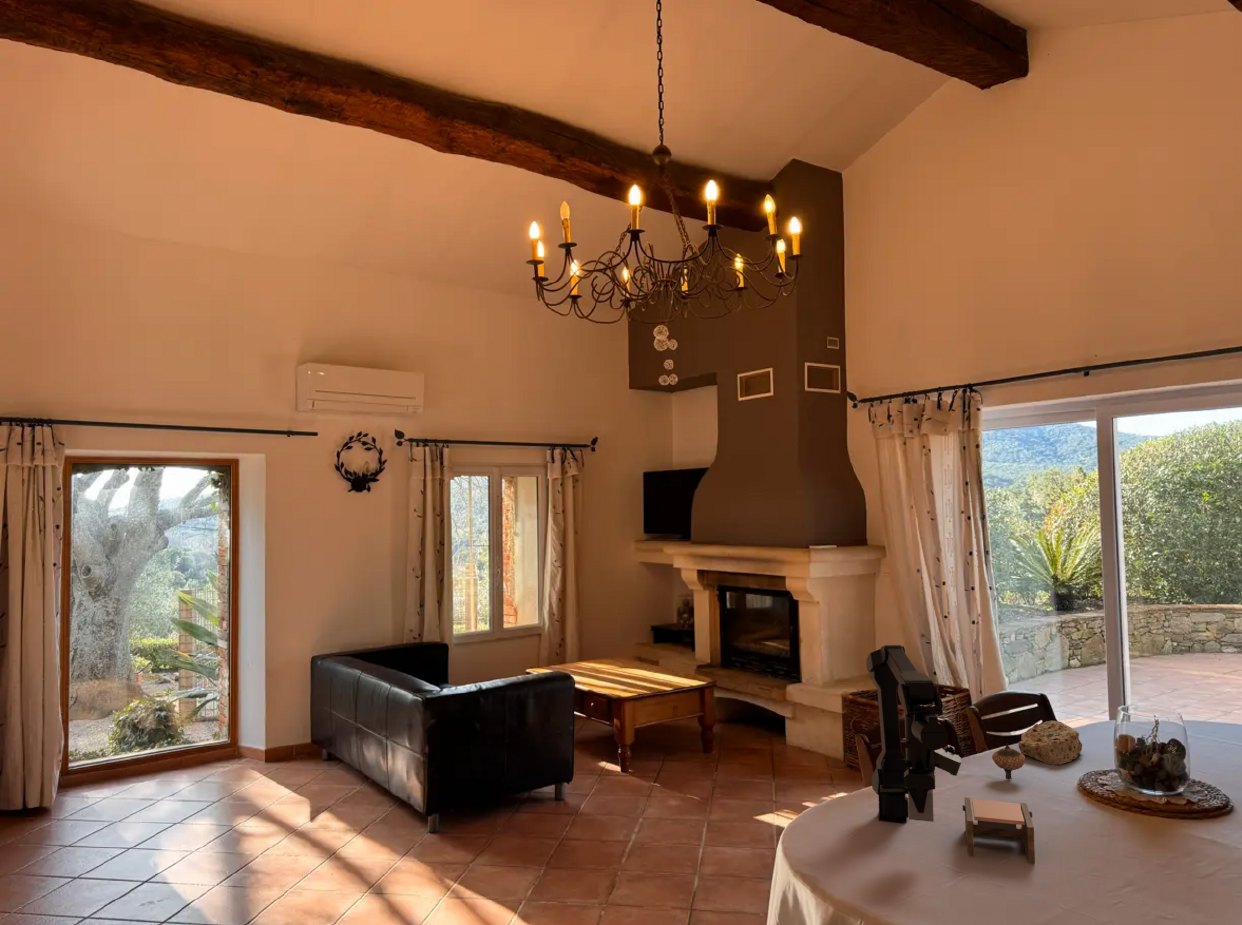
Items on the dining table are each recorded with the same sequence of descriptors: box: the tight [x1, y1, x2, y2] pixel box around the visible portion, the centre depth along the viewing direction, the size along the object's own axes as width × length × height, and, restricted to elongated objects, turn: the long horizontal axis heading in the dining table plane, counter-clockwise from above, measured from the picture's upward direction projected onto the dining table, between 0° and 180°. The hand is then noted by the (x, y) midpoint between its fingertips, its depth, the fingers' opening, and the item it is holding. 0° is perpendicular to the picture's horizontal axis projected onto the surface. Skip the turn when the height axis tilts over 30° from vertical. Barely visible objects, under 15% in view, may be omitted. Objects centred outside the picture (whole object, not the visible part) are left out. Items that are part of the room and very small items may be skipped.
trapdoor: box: [971, 798, 1025, 830], centre depth 193 cm, size 10×11×5 cm
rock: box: [1018, 720, 1083, 766], centre depth 258 cm, size 21×14×10 cm
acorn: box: [991, 742, 1026, 781], centre depth 236 cm, size 8×8×10 cm
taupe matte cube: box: [907, 790, 934, 823], centre depth 189 cm, size 5×5×6 cm
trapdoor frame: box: [962, 796, 1036, 865], centre depth 193 cm, size 14×15×8 cm
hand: (921, 808), depth 189 cm, fingers closed on taupe matte cube, 5 cm apart
